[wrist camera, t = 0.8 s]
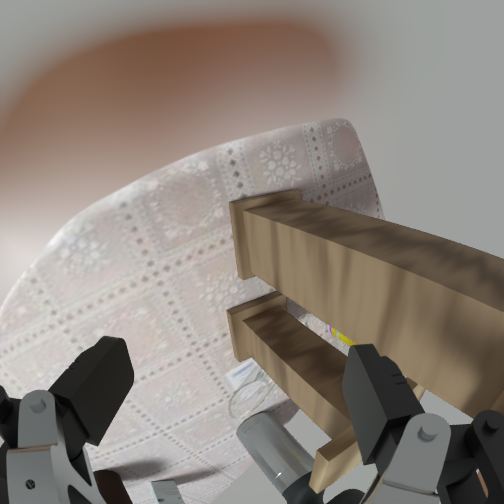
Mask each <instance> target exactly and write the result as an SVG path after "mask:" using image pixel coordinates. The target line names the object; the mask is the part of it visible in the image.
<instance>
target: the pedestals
mask: <svg viewBox="0 0 504 504" xmlns="http://www.w3.org/2000/svg"><path fill="white" fill-rule="evenodd" d="M229 207H230V215H231V223H232V231H233V239H234V247H235V254H236V262H237V269H238V276H239V277H240V278H241V279H243V280H246V279H249V278H252V277H255V276H257V277H259V278H260V279H262V280H263V281H265V282H266V283H268V284H269V285H270V286H272V287H273V288H275V289H276V290H278V291H276V292H273V293H271V294H268V295H265V296H263V297H260V298H258V299H255V300H253V301H250V302H247V303H245V304H242V305H239V306H237V307H234V308H231V309H229V310H226V311H227V317H228V322H229V328H230V333H231V339H232V344H233V349H234V354H235V358H236V359H237V360H238V361H239V362H242V361H244V360H246V359H248V358H251V357H252V358H253V359H254V360H255V361H256V362H257V364H258V365H259V366H260V367H261V368H262V369H263V370H264V371H265V372H266V373H267V374H268V375H269V377H270V378H271V379H272V380H273V381H274V382H275V383H276V384H277V385H278V386H279V387H280V388H281V389H282V390H283V391H284V392H285V393H286V394H287V396H288V397H289V398H290V399H291V400H292V401H293V402H294V403H295V404H296V405H297V406H298V407H299V408H300V409H301V410H302V411H303V412H304V413H305V414H306V415H307V416H308V417H309V418H310V419H311V420H313V422H314V423H315V424H316V425H318V427H320V428H321V429H322V430H323V431H324V432H325V433H326V434H327V435H328V436H329V437H330V438H331V439H332V440H331V441H330V442H328V443H327V444H325V445H324V446H322V447H321V448H319V449H318V450H317V451H316V456H315V461H314V465H313V470H312V474H311V478H310V482H309V486H310V487H311V488H312V489H313V490H314V491H315V492H316V493H317V494H318V493H319V492H321V491H322V490H324V489H325V488H327V487H328V486H330V485H331V484H332V483H334V482H335V481H337V480H338V479H340V478H341V477H342V476H344V475H345V474H346V473H348V472H349V471H350V470H352V469H353V468H354V467H355V466H357V465H358V464H359V463H360V462H361V461H362V457H361V454H360V450H359V446H358V443H357V439H356V436H355V432H354V429H353V426H352V422H351V419H350V415H349V412H348V409H347V405H346V402H345V399H344V396H343V390H342V381H343V376H344V371H345V367H346V362H347V356H346V355H345V354H343V353H342V352H340V351H339V350H338V349H336V348H335V347H333V346H332V345H331V344H329V343H328V342H327V341H325V340H324V339H322V338H321V337H320V336H318V335H317V334H316V333H314V332H313V331H312V330H310V329H309V328H308V327H306V326H305V325H303V324H302V323H301V322H299V321H298V320H297V319H295V318H294V317H293V316H291V315H290V314H289V313H287V301H286V297H288V298H289V299H291V300H292V301H294V302H295V303H297V304H298V305H300V306H301V307H303V308H304V309H305V310H307V311H308V312H310V313H311V314H313V315H314V316H316V317H317V318H319V319H320V320H322V321H323V322H325V323H326V324H328V325H329V326H331V327H332V328H334V329H335V330H337V331H338V332H340V333H341V334H343V335H344V336H346V337H347V338H349V339H350V340H352V341H353V342H355V343H356V344H358V345H359V344H370V343H372V344H373V345H374V346H375V348H376V350H377V352H378V353H379V355H380V356H387V357H388V358H390V359H391V360H392V361H394V362H395V363H396V364H397V365H398V367H399V369H400V370H401V372H402V374H403V375H405V376H407V377H406V378H405V379H406V380H407V383H408V384H409V385H410V387H411V389H412V390H413V392H414V394H415V395H416V397H417V399H418V401H419V402H420V399H421V398H422V396H423V394H424V392H425V390H426V389H427V390H429V391H430V392H432V393H433V394H435V395H437V396H438V397H440V398H441V399H443V400H444V401H446V402H448V403H449V404H451V405H452V406H454V407H455V408H457V409H459V410H460V411H462V412H463V413H465V414H467V415H468V416H470V417H472V418H473V419H474V418H475V417H476V415H477V414H478V413H480V412H481V411H484V410H494V411H497V412H499V413H501V414H502V415H503V416H504V259H502V258H500V257H497V256H494V255H492V254H489V253H486V252H483V251H481V250H478V249H475V248H472V247H469V246H466V245H463V244H460V243H457V242H454V241H451V240H448V239H445V238H442V237H439V236H436V235H432V234H429V233H426V232H422V231H419V230H416V229H412V228H409V227H406V226H402V225H399V224H395V223H392V222H388V221H384V220H381V219H377V218H373V217H370V216H366V215H362V214H358V213H354V212H350V211H346V210H342V209H338V208H333V207H329V206H325V205H321V204H316V203H312V202H307V201H303V200H302V196H301V191H300V190H295V189H294V190H289V191H283V192H278V193H273V194H267V195H262V196H257V197H252V198H247V199H242V200H238V201H233V202H229Z"/></svg>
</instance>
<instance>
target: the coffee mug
mask: <svg viewBox="0 0 504 504" xmlns="http://www.w3.org/2000/svg"><path fill="white" fill-rule="evenodd" d="M93 475H94V478H95V481H96V484H97V487H98V490H99V493H100V495H101V496H102V498H103V499H104V501H105V502H106V504H133V503H132V501H131V499H130V497H129V495H128V493H127V491H126V489H125V487H124V485H123V482H122V480H121V478H120V476H119V474H117V473H116V472H113V471H108V470H99V471H95V472H93Z"/></svg>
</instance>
